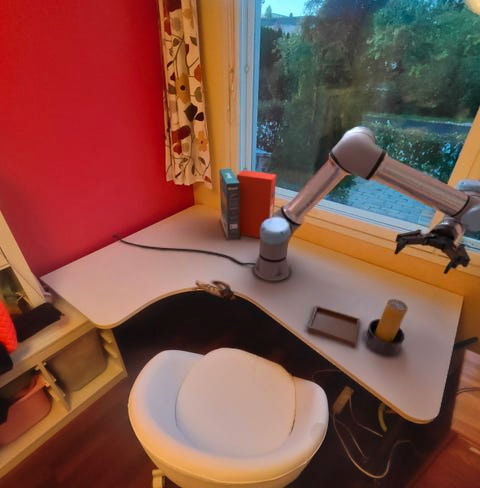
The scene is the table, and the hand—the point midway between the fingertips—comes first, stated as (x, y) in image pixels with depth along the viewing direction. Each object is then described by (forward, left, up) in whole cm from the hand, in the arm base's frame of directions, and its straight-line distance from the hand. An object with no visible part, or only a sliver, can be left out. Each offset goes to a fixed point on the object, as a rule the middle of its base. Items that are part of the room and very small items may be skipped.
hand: (420, 259), depth 83 cm
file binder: (-69, +41, -29) cm, 85 cm away
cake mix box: (-83, +39, -29) cm, 96 cm away
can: (-3, -8, -28) cm, 29 cm away
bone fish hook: (-64, -9, -29) cm, 70 cm away
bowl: (-3, -8, -29) cm, 30 cm away
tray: (-18, -8, -29) cm, 35 cm away
